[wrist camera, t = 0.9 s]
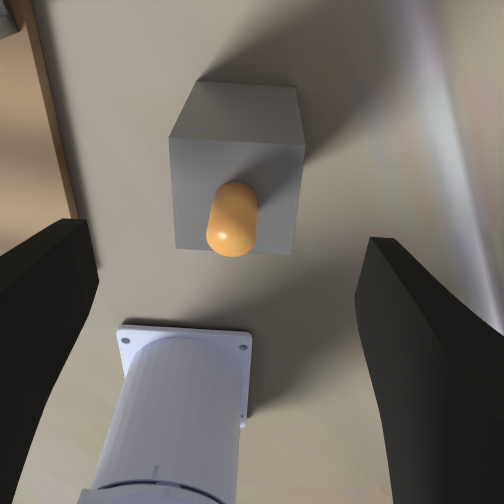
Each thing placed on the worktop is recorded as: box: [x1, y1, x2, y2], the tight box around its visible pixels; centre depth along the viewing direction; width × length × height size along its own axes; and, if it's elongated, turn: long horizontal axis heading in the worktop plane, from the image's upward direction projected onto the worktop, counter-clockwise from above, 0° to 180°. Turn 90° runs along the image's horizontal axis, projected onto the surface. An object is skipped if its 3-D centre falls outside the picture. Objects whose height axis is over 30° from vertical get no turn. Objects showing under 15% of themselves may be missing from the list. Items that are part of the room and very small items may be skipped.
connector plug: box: [169, 81, 306, 257], centre depth 15 cm, size 4×4×8 cm
